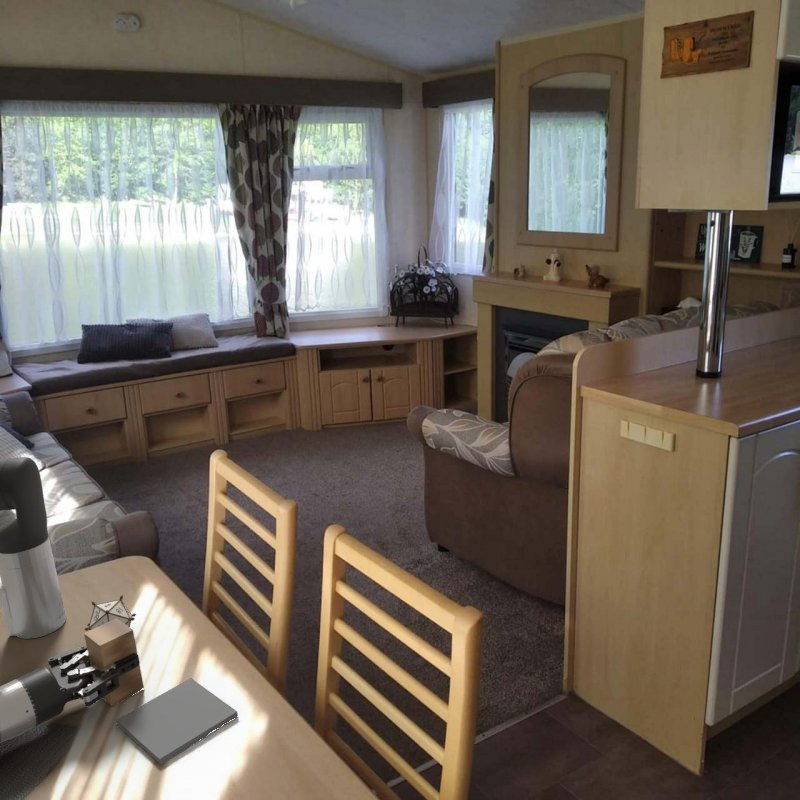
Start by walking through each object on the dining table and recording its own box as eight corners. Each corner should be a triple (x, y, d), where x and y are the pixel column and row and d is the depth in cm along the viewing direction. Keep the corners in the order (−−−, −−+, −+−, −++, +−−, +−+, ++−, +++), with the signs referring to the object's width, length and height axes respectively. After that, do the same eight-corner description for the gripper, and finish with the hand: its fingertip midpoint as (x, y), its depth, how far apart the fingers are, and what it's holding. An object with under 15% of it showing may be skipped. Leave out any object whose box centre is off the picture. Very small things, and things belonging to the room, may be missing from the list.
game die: (122, 664, 143) (114, 642, 135) (79, 646, 143) (69, 624, 136) (148, 619, 148) (142, 596, 140) (107, 603, 149) (98, 579, 141)
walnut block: (112, 706, 125) (99, 645, 122) (96, 692, 129) (83, 633, 126) (144, 689, 129) (133, 629, 126) (127, 676, 133) (116, 618, 129)
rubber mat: (160, 765, 112) (159, 759, 112) (116, 725, 121) (115, 719, 120) (238, 717, 121) (237, 711, 120) (191, 683, 130) (191, 677, 129)
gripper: (37, 702, 112) (147, 647, 123) (-2, 664, 121) (104, 615, 133) (47, 747, 114) (154, 688, 125) (9, 705, 123) (112, 655, 135)
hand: (128, 651), depth 129 cm, fingers closed on walnut block, 5 cm apart
